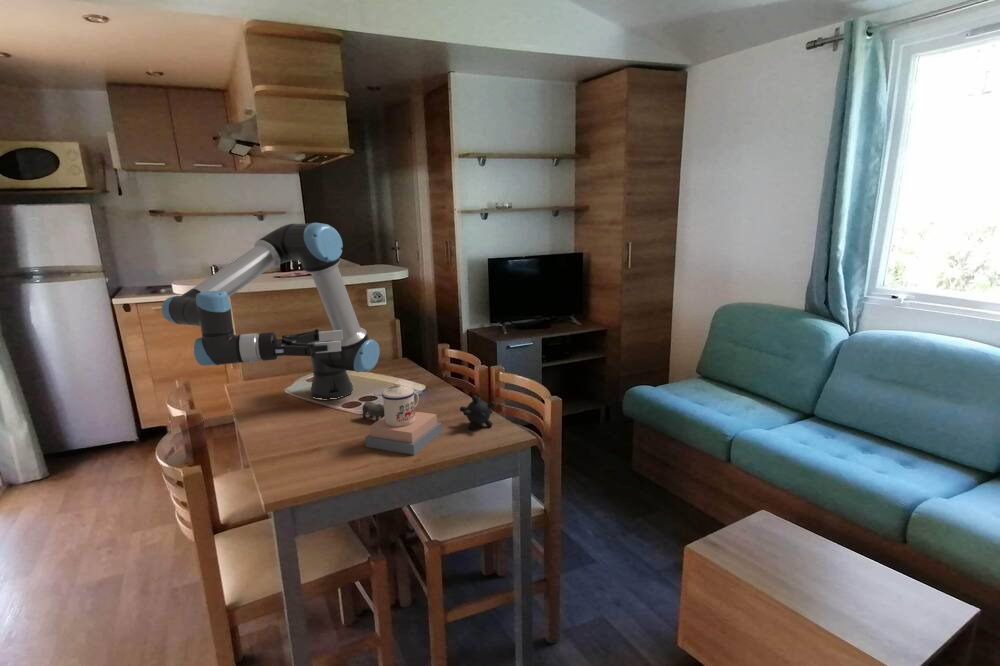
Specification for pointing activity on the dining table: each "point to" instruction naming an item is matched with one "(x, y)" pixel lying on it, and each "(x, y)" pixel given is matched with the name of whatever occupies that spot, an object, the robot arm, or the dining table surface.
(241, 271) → the robot arm
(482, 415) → the toy ball
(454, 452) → the dining table surface
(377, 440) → the brick plinth
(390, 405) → the teacup with lid
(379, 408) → the rhino figurine
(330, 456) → the dining table surface
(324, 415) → the dining table surface
